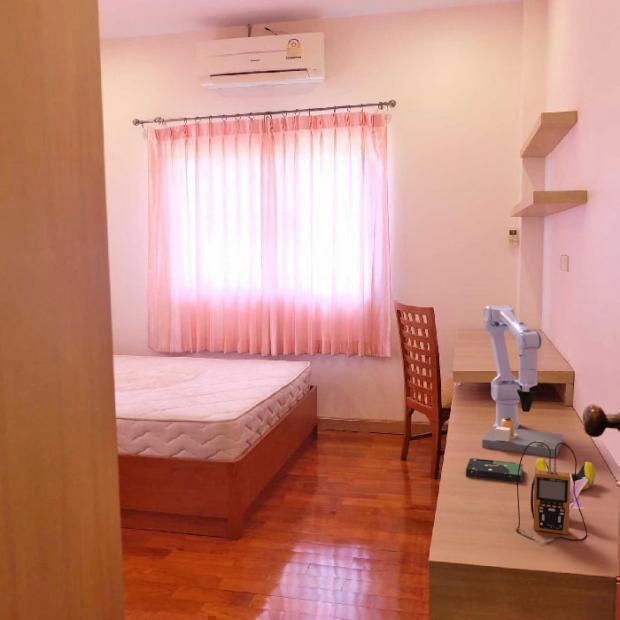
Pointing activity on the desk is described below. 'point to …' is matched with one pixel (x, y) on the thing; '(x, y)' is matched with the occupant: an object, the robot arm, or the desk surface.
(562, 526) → the multimeter
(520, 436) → the panel
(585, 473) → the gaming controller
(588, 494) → the desk surface
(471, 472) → the disk drive
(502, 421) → the cap
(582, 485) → the lily
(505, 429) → the lever
